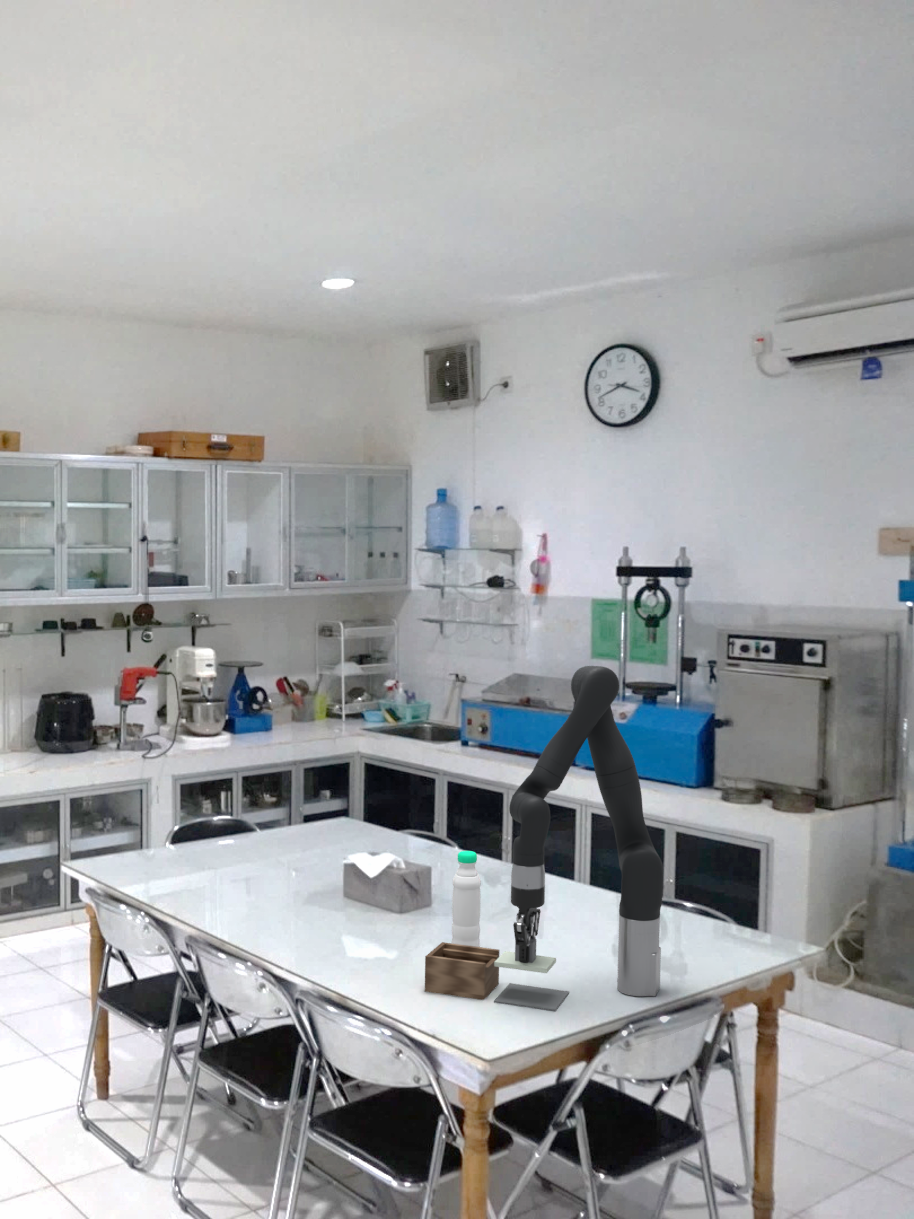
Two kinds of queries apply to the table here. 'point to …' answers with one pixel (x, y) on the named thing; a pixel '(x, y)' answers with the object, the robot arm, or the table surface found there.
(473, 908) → the water bottle
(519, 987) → the mat
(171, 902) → the table surface
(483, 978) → the box
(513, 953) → the lid
